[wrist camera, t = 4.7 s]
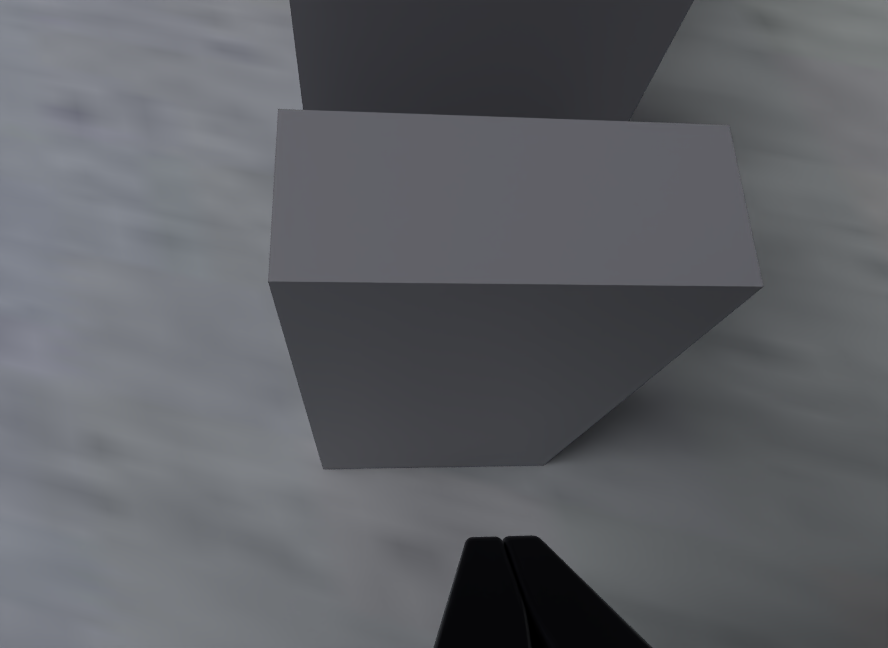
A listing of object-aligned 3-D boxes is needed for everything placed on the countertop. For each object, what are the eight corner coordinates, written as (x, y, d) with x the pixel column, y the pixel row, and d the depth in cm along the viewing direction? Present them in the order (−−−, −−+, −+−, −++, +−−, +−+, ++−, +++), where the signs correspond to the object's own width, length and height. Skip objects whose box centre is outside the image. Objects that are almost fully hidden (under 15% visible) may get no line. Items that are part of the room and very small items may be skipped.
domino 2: (543, 465, 17) (763, 287, 8) (323, 469, 16) (267, 281, 7) (536, 381, 17) (729, 124, 8) (325, 382, 17) (278, 109, 8)
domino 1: (529, 305, 18) (699, -11, 9) (327, 303, 18) (285, -34, 8) (523, 233, 19) (675, -126, 10) (329, 230, 18) (292, -155, 9)
